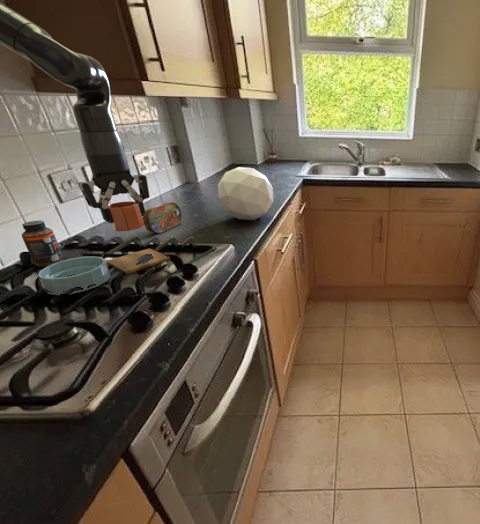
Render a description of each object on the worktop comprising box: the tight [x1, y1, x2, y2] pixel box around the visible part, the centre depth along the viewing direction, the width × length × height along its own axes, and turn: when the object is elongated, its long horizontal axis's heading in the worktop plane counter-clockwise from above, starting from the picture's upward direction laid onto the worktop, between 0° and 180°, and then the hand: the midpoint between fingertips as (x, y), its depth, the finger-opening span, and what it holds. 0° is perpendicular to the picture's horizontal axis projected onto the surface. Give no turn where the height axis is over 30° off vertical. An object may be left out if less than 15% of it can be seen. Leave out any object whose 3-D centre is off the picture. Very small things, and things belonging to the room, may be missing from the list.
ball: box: [217, 166, 274, 221], centre depth 123 cm, size 19×20×20 cm
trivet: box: [106, 248, 171, 275], centre depth 90 cm, size 11×11×1 cm
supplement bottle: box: [21, 220, 65, 268], centre depth 86 cm, size 6×6×11 cm
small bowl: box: [108, 200, 145, 232], centre depth 85 cm, size 6×6×6 cm
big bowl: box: [37, 255, 111, 296], centre depth 78 cm, size 12×12×4 cm
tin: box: [142, 201, 182, 234], centre depth 113 cm, size 15×3×8 cm, turn 171°
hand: (126, 218), depth 85 cm, fingers closed on small bowl, 6 cm apart
